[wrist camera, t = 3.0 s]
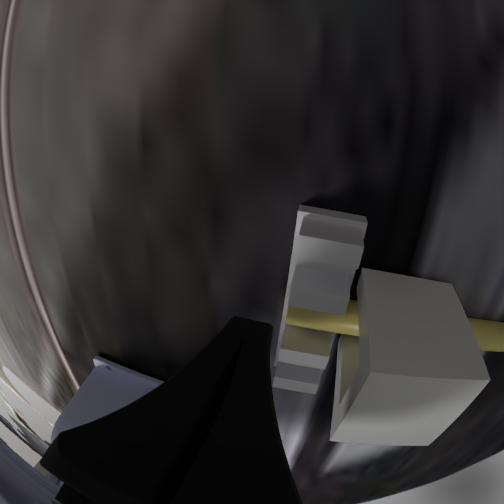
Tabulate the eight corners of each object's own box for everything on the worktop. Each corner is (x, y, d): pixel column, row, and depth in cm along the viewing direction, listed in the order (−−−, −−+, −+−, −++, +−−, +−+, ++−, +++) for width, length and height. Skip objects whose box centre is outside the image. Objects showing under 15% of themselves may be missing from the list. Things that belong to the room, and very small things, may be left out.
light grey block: (337, 343, 13) (329, 440, 9) (362, 267, 11) (370, 372, 7) (416, 353, 12) (428, 445, 8) (451, 283, 10) (490, 379, 6)
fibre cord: (287, 317, 13) (277, 357, 11) (295, 272, 12) (285, 310, 10) (515, 346, 11) (528, 379, 9) (536, 312, 10) (554, 344, 8)
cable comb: (275, 357, 15) (267, 388, 13) (299, 205, 11) (293, 227, 9) (322, 365, 14) (318, 397, 12) (365, 216, 10) (372, 242, 8)
